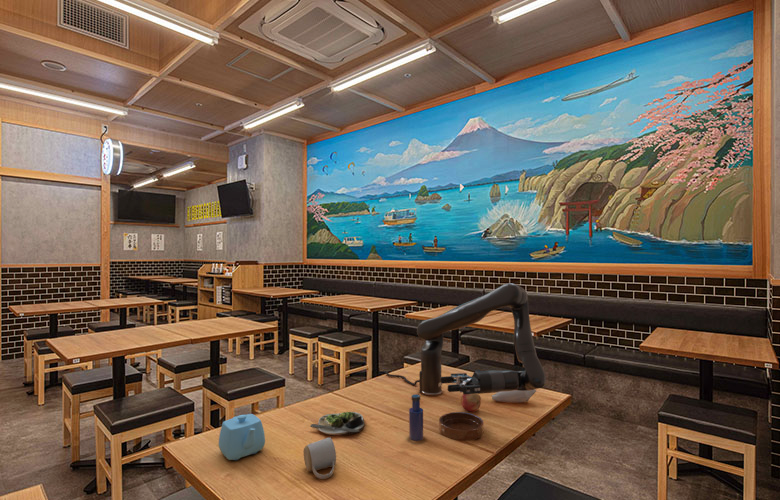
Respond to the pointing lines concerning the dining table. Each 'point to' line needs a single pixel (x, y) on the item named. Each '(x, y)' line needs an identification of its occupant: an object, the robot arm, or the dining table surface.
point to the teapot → (241, 436)
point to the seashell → (513, 396)
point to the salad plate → (340, 423)
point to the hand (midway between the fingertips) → (444, 384)
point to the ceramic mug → (320, 457)
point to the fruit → (471, 402)
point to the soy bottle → (416, 419)
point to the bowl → (461, 426)
